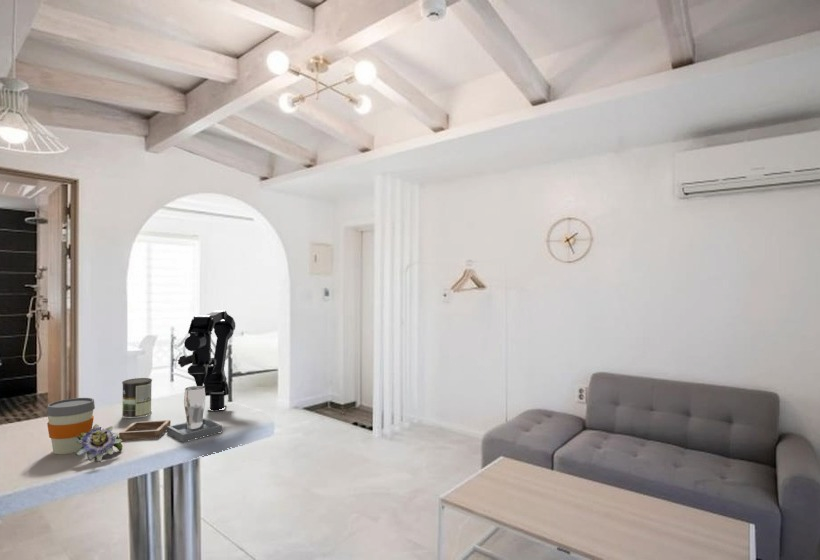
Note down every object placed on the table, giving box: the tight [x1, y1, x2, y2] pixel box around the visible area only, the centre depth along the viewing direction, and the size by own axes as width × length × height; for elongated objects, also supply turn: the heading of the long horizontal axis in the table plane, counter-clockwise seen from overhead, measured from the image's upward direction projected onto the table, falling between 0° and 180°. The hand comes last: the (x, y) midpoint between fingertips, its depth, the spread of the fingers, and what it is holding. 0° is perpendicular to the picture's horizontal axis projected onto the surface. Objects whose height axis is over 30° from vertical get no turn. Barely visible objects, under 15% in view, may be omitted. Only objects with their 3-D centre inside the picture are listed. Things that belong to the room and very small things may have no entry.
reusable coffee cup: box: [45, 397, 96, 455], centre depth 146 cm, size 13×13×15 cm
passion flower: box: [74, 423, 123, 463], centre depth 139 cm, size 11×11×12 cm
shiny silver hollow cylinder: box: [183, 385, 206, 432], centre depth 162 cm, size 7×7×15 cm
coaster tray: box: [166, 417, 223, 443], centre depth 161 cm, size 14×14×2 cm
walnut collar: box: [118, 419, 171, 441], centre depth 161 cm, size 12×12×2 cm
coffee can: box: [121, 377, 153, 419], centre depth 183 cm, size 10×10×14 cm
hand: (202, 387), depth 176 cm, fingers open, 9 cm apart
